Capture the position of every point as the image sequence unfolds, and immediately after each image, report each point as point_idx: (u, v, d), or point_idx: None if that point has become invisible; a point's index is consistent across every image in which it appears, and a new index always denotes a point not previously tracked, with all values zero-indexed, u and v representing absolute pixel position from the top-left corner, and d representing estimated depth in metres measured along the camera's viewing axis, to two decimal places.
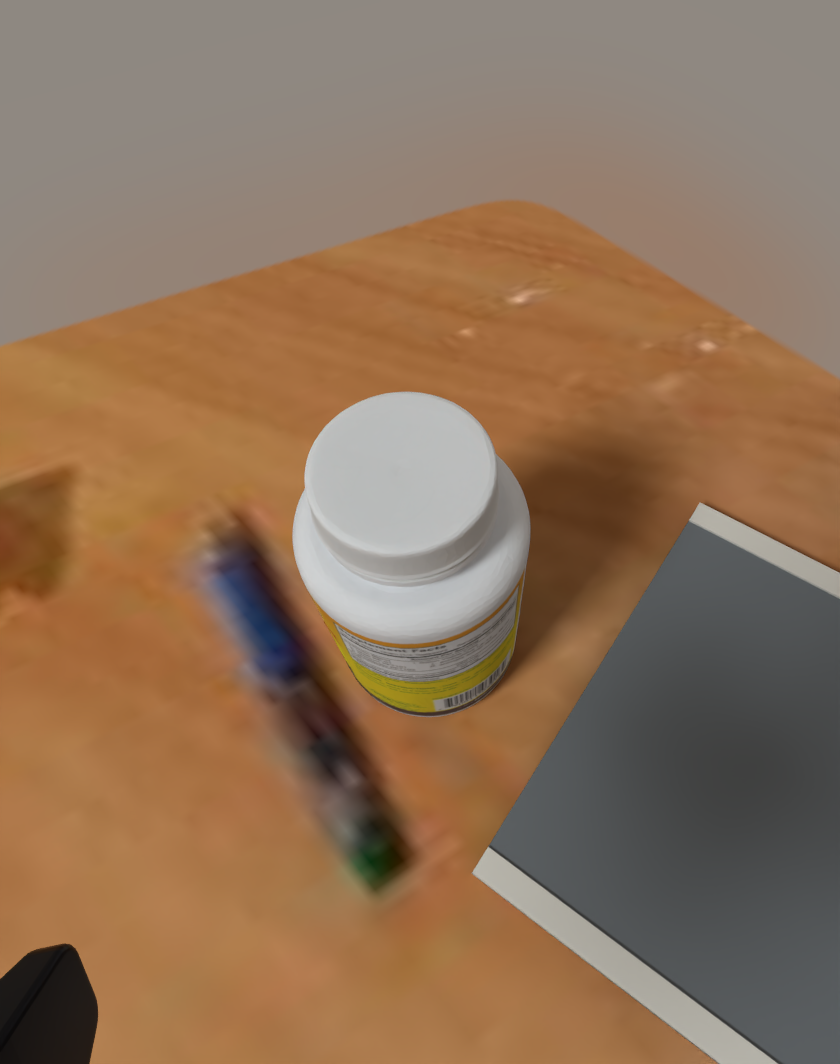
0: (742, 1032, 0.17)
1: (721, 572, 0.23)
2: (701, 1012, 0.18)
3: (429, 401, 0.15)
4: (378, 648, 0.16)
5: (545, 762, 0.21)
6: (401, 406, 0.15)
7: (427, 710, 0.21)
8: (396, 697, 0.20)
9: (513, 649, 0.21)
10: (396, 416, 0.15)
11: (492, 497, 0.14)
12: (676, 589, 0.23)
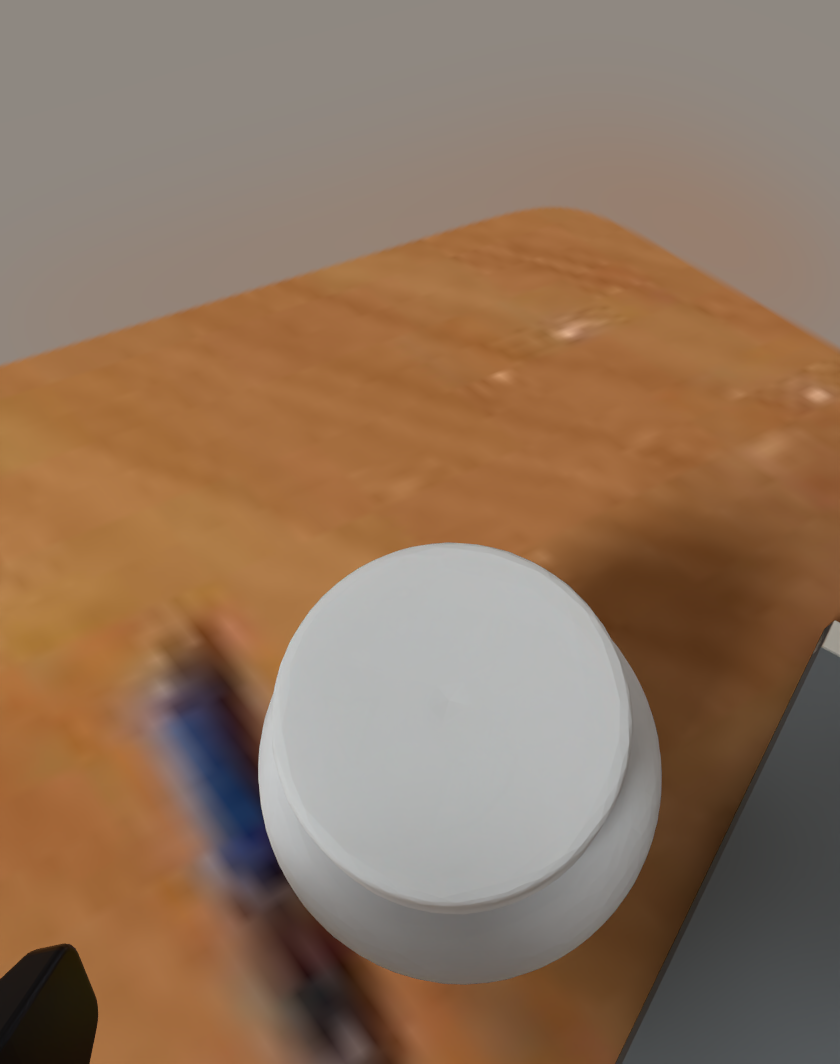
0: None
1: None
2: None
3: (496, 563, 0.08)
4: None
5: (643, 1034, 0.14)
6: (447, 573, 0.08)
7: None
8: None
9: None
10: (438, 593, 0.08)
11: (627, 769, 0.07)
12: (813, 752, 0.16)
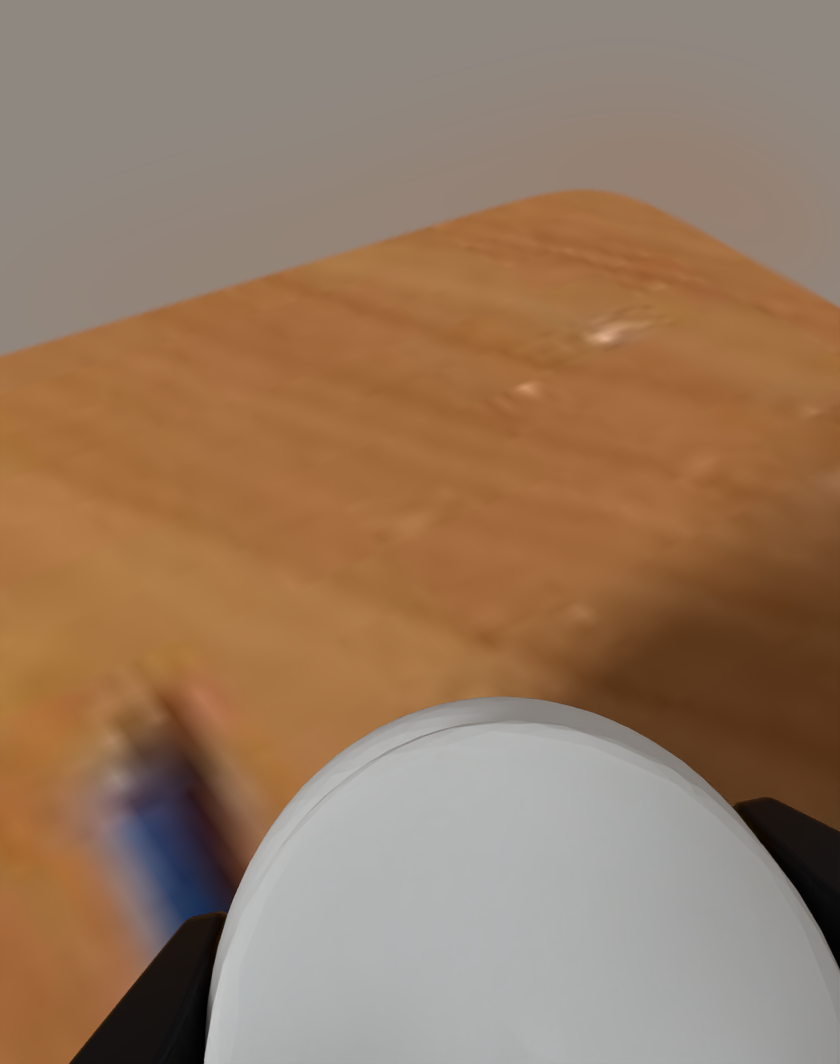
0: None
1: None
2: None
3: (599, 766, 0.05)
4: None
5: None
6: (513, 782, 0.05)
7: None
8: None
9: None
10: (501, 823, 0.05)
11: None
12: None
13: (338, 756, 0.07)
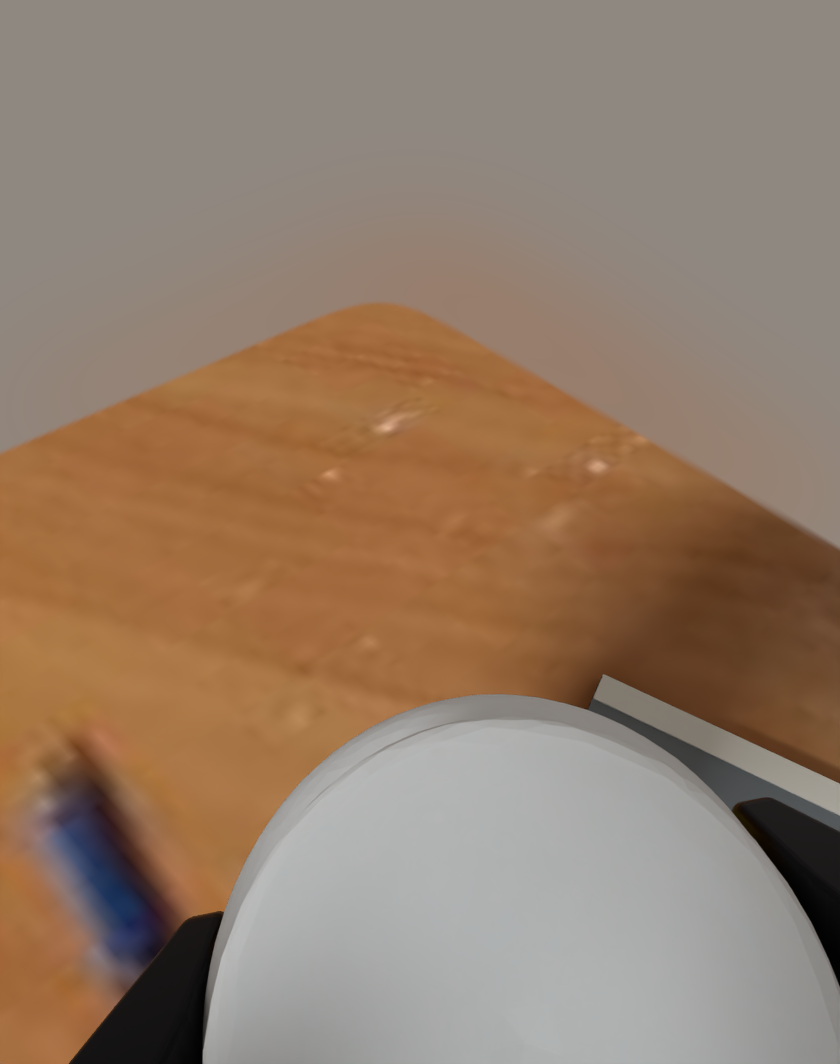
0: None
1: None
2: None
3: (594, 761, 0.05)
4: None
5: None
6: (509, 777, 0.05)
7: None
8: None
9: None
10: (496, 817, 0.05)
11: None
12: None
13: (335, 754, 0.07)
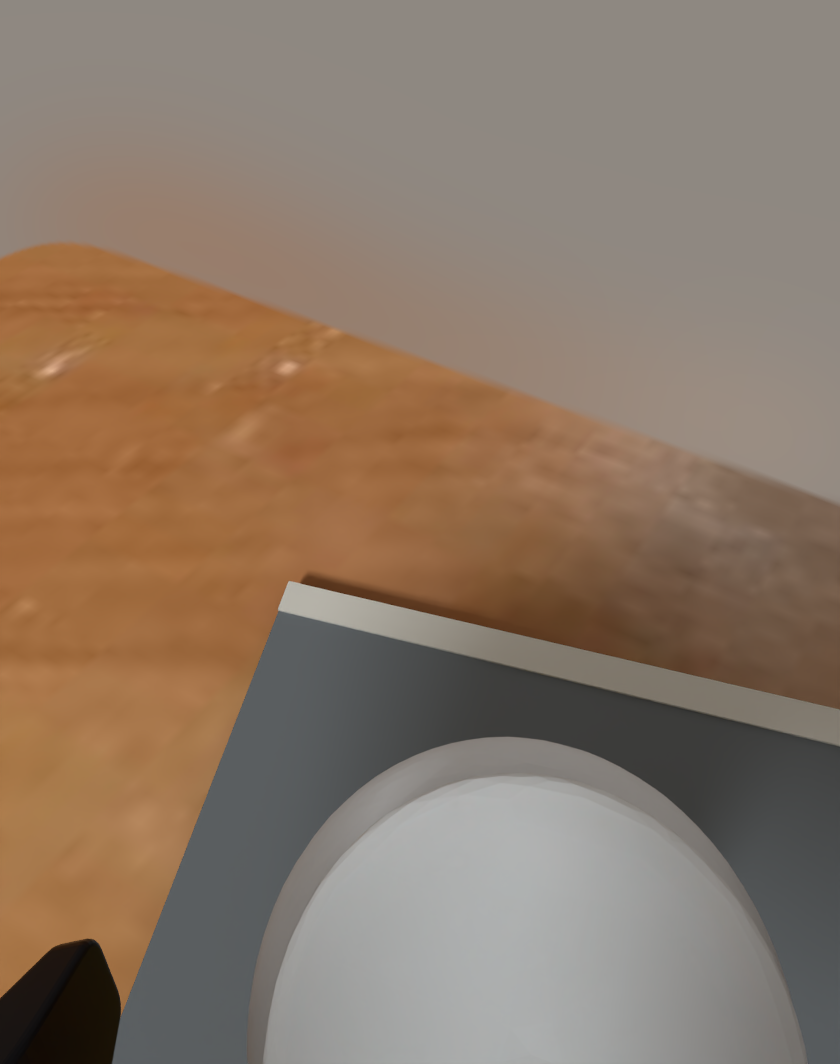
0: None
1: (326, 670, 0.17)
2: None
3: (590, 814, 0.06)
4: None
5: None
6: (518, 829, 0.06)
7: None
8: None
9: None
10: (507, 862, 0.06)
11: None
12: (272, 715, 0.17)
13: (362, 790, 0.08)
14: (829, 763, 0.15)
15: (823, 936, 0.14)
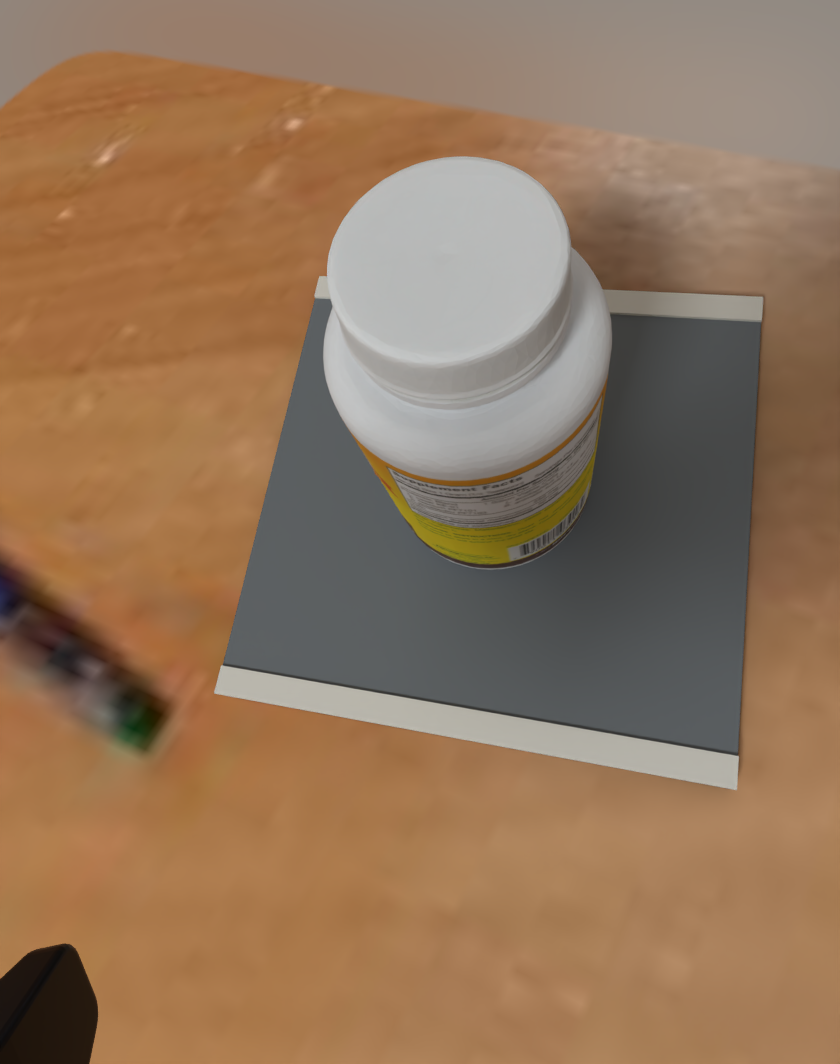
0: (472, 706, 0.19)
1: None
2: (435, 707, 0.19)
3: (471, 165, 0.12)
4: (442, 490, 0.14)
5: (250, 571, 0.21)
6: (435, 176, 0.12)
7: (501, 561, 0.19)
8: (465, 550, 0.18)
9: None
10: (431, 191, 0.12)
11: (567, 274, 0.11)
12: (321, 365, 0.23)
13: None
14: (725, 332, 0.21)
15: (716, 437, 0.20)
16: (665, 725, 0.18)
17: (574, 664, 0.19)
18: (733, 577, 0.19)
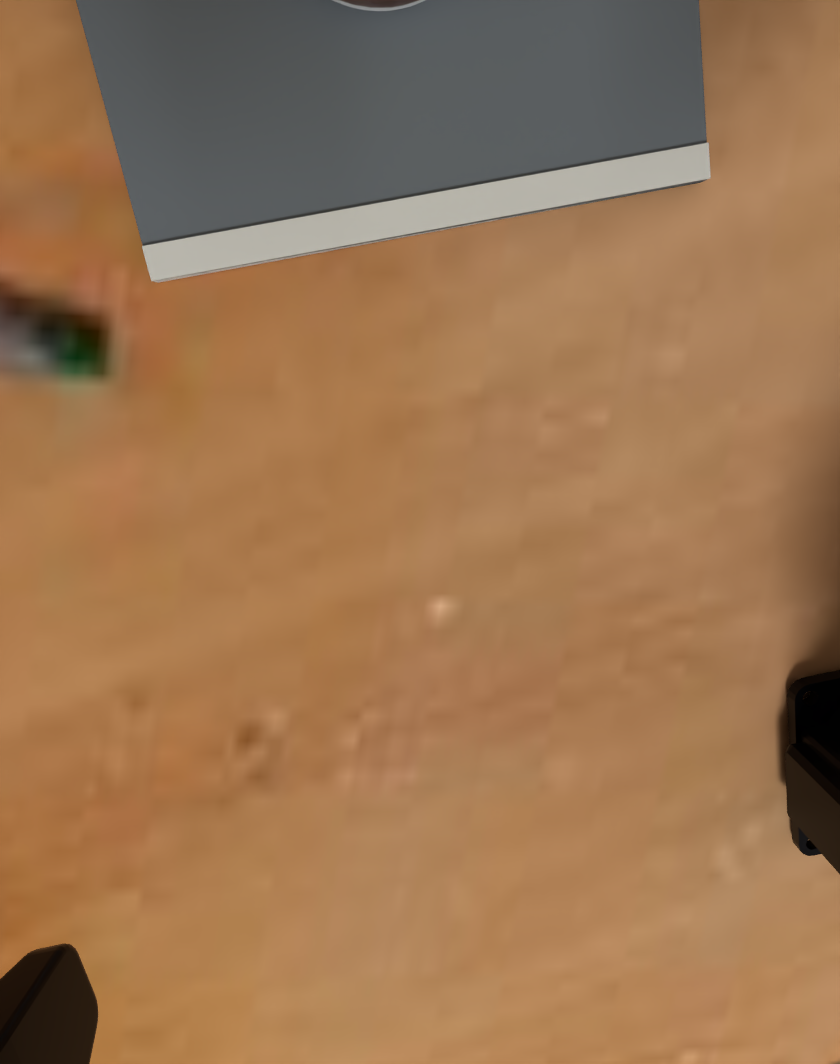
0: (440, 187, 0.17)
1: None
2: (402, 203, 0.17)
3: None
4: None
5: (113, 114, 0.16)
6: None
7: None
8: None
9: None
10: None
11: None
12: None
13: None
14: None
15: None
16: (635, 136, 0.17)
17: (532, 100, 0.17)
18: None
